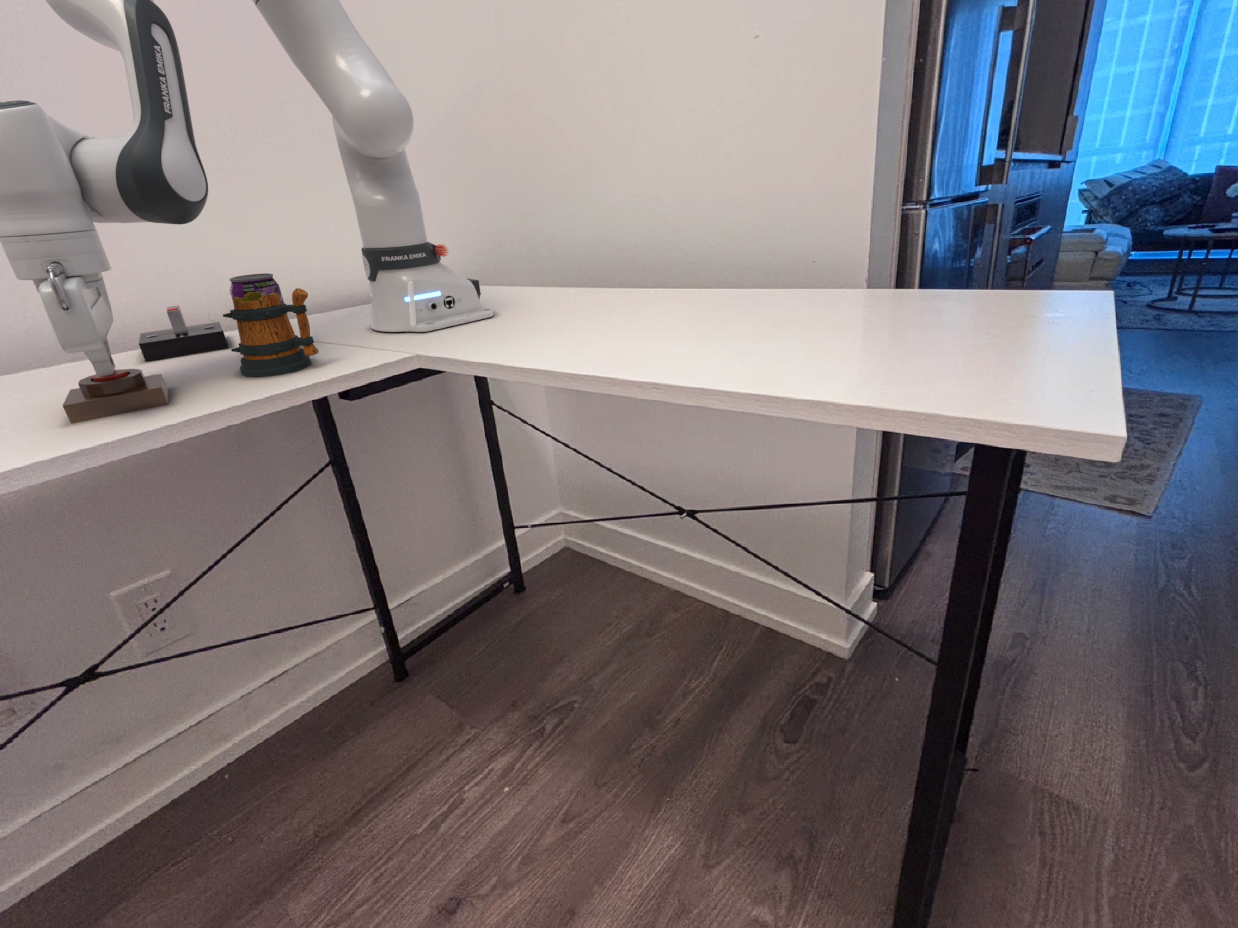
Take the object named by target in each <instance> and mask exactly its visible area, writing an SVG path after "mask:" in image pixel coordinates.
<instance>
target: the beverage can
mask: <svg viewBox="0 0 1238 928" xmlns="http://www.w3.org/2000/svg"><path fill="white" fill-rule="evenodd" d="M229 282H230V287H229V293H230V296H231V298H232V297H238V298H239V299H240V298H244V294H247V293H250V292H261V295H266V294H268V295H271V294H272V293H278V294H279V296H280V298H281V301H282V303H285V301H284V297H283V294H282V291H281V290H282V289H281V288H280V284H279V283H278V282H277V281H276V280H275V278H274V275H273V273H269V272H267V273H252V274H243V275H237V276H232V277H230V278H229ZM287 316H288V314H287ZM288 317H289V316H288Z"/></svg>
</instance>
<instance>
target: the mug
mask: <svg viewBox="0 0 1238 928" xmlns="http://www.w3.org/2000/svg"><path fill="white" fill-rule="evenodd" d="M308 297H309V293H308V292H307V291H306V290H305V289H303V288H300V287H299V288H297V287H296V288H295V289H294V290H293V291H292V294H291V300H292V304H287V303H285V302H284V303H282V301H281V298H280V296H279V294H278V293H272V294H271V295H268V294H266V295H261V292H250V293H247V294H244V298H240V299H239V298H238V297H231V299H232V304H233V309H230V310H229V312H228V313H224V314H222V317H223V318H229V319H232V320H234V321H236V325H237V326H236V327H237V331H238V335H239V341H240V343H238V347H234V348H230V351H231V352H233V353H239V354H240V355H241V356H243V357H241V358H240V367H239V371H240V374H241V376H243V377H246V378H255V379H257V378H271V377H276V376H277V377H278V376H283V375H288V374H292V373H296V372H299V371H301V370H304V369H307V368H308V367H310V366H311V365H312V361H311V356H315V355H317V354H319V349H318V348H317V347H316V345H315V339H314V338H313V336H312V335H311V326H310V323H309V318H308V316H307V315H308V314H307V313H308V310H307V309H308V308H307V305H306V304H305V301H306V300H307V299H308ZM288 313H293V314H295V315H296V320H297V326H298V331H299V335H300V336H298V335H297V334H296V333H295V331H294V329H293V325H292V324H291V321H290V319H289V316H287V315H288ZM302 347H303V348H302Z"/></svg>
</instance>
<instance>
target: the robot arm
mask: <svg viewBox="0 0 1238 928" xmlns="http://www.w3.org/2000/svg"><path fill="white" fill-rule="evenodd" d="M251 1H252V3H253V4H254V5H255V7H256V9H257V11H259V13H260V16H262V18H263V20H265V22H266V24H267V25H268V27H269V29H270V30H271V31H272V33H273V34H274V36H275V38H276V39H277V41H278V43H280V45H281V47H282V48H283V49H284V51H285V53H286V54H287V56H288V57H289V59H290V60H291V62H292V63H293V65H294V66H295V67H296V69H298V71H299V72H300V73H301V75H302V76H303V77H304V78H305V80H306V81H307V82H308V84H309V85H310V86H311V88H312V89H313V91H314V92H315V93H316V95H318V97H319V98H320V101H322V103H323V104H324V105H325V107H326V108H327V109H328V112H330V114H331V120H332V127H333V131H334V136H335V138H336V139H335V140H336V143H337V147H338V151H339V154H340V158H341V162H342V166H343V170H344V174H345V177H346V180H347V183H348V187H349V191H350V195H351V198H352V202H353V205H354V210H355V215H356V219H357V224H358V229H359V234H360V238H361V242H362V247H361V249H360V250H361V259H362V264H363V268H364V272H365V275H366V277H367V280H368V281H369V287H370V297H371V324H370V325H371V327H370V328H371V329H372V330H374V331H377V332H384V333H385V332H387V333H399V332H400V333H401V332H404V333H405V332H415V333H426V332H431V331H436V330H440V329H444V328H445V329H446V328H449V327H454V326H458V325H462V324H466V323H471V322H476V321H479V320H484V319H489V318H492V317H493V316H494V312H493V311H494V310H493V309H492V307H490V306H488V305H485V304H482V303H481V302H480V301H481V295H482V294H481V287H480V281H479V279H473V278H466V277H464V276H463V275H462V274H460V273H458V272H457V271H455V270H454V269H453V268H451V267H449V266H447V265H445V264H444V263H443V262H441V260H442V258H443V257H447V256H448V254H449V248H448V247H447V246H446V245H445V244H441V243H440V244H437V245H436V244H434V243H432V242H430V241H428V238H427V237H428V236H427V231H426V225H425V220H424V215H423V209H422V204H421V197H420V193H419V191H418V188H417V186H416V183H415V180H414V177H413V173H412V171H411V165H410V163H409V158H408V154H407V151H406V148H407V146H408V145H409V144H410V141H411V139H412V137H413V133H414V115H413V110H412V107H411V105H410V103H409V101H408V99H407V98H406V96H405V95H404V94H403V92H402V91H401V90H400V88H398V86H397V85H396V83H395V82H394V80H393V79H392V77H391V76H390V74H389V72H387V70H386V69H385V67H384V65H383V64H382V63H381V61H380V60H379V58H378V57H377V56H376V55H375V53H374V52H373V50H372V49H371V47H370V46H369V45H368V43H367V42H366V41H365V39H364V38H363V37H362V36H361V34H360V33H359V31H358V29H357V28H356V26H355V25H354V23H353V22H352V20H351V19H350V17H349V15H348V14H347V12H346V10H345V8H344V6H343V4H342V3H341V2H340V0H251ZM45 2H46V3H47V5H49V7H50V8H51V9H52V11H53V12H54V13H55V14H56V15H57V16H58V17H59V18H60V19H61V20H62V21H63V22H65V23H66V24H67V25H68V26H69V27H70V28H72V29H74V30H76V31H77V32H79V33H80V34H82V35H83V36H85V37H87V38H89V39H91V40H92V41H94V42H96V43H98V44H100V45H101V46H104V47H107V48H109V49H112V50H114V51H117V52H119V53H120V54H121V56H122V59H123V62H124V68H125V74H126V80H127V86H128V92H129V97H130V103H131V110H132V115H133V122H132V125H131V126H130V128H129V130H127V131H126V132H125V133H124V134H122V135H118V136H106V137H90V136H89V135H88V134H85V133H83V132H79V131H77V130H75V129H72V128H71V127H68V126H67V125H64V124H62V123H61V122H60V121H58V120H56V119H55V118H54V117H51V115H49V114H47V112H45V110H44V109H43V108H42V107H41V106H40V104H39V103H36V102H34V101H33V102H32V101H29V100H20V99H19V100H17V99H16V100H9V101H1V102H0V245H1V247H2V249H3V251H4V253H5V256H6V258H7V260H8V262H9V265H10V267H11V269H12V271H13V273H14V275H15V278H16V279H17V280H19V281H32V282H33V285H34V286H35V290H36V292H37V293H39V296H40V299H41V302H42V304H43V307H44V310H45V312H46V314H47V317H48V320H49V323H50V325H51V327H52V330H53V332H54V334H55V337H56V339H57V342H58V343H59V346H60V347H61V349H62V350H63V351H64V352H65V353H66V354H74V353H84V355H85V356H86V357H87V359H88V360H89V362H90V363H91V365H92V367H93V370H94V372H95V374H97V375H98V376H107V375H112V374H113V373H114V370H116V364H115V361H114V359H113V357H112V353H111V348H110V344H109V340H108V335H109V333H110V331H111V327H112V326H113V324H114V315H113V311H112V306H111V302H110V299H109V295H108V294H109V293H108V290H107V288H106V283H105V281H104V276H103V274H102V273H105V272H109V271H110V270H112V266H111V264H110V262H109V259H108V256H107V254H106V250H105V248H104V246H103V243H102V241H101V238H100V236H99V233H98V231H97V227H96V225H95V224H137V223H140V224H141V223H153V224H166V225H187V224H190V223H192V222H193V221H195V220H196V219H198V217H199V216H200V215H201V213H202V212H203V210H204V208H205V206H206V203H207V200H208V195H209V183H208V177H207V174H206V171H205V168H204V165H203V161H202V159H201V156H200V153H199V151H198V147H197V143H196V139H195V133H194V128H193V122H192V116H191V109H190V104H189V98H188V94H187V93H188V92H187V87H186V81H185V75H184V69H183V64H182V59H181V58H182V57H181V54H180V50H179V45H178V42H177V37H176V33H175V31H174V29H173V26H172V24H171V22H170V20H169V18H168V17H167V15H166V14H165V13H164V11H163V10H162V9H161V8H160V7H159V6H158V5H157V4H156V3H155V1H154V0H45ZM441 257H442V258H441Z"/></svg>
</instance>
